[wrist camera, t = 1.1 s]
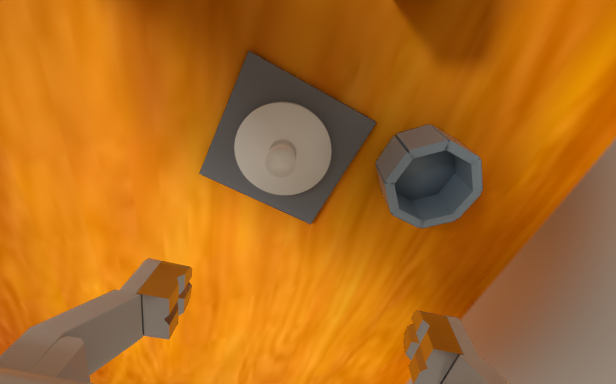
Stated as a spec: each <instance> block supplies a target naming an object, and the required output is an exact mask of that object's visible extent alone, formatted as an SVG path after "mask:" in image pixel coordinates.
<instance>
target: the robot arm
mask: <svg viewBox="0 0 616 384" xmlns="http://www.w3.org/2000/svg"><path fill="white" fill-rule="evenodd" d="M191 277H192V268H191V267H189V266H184V265H179V264H175V263H170V262H166V261H159V260H155V259H150V258H149V259H147V260H145V261H144V262H143V263H142V264H141V266H140V267H139V268H138V269H137V270H136V271H135V273H134V274H133V275H132V276H131V277H130V279H129V280H128V281H127V282H126V283H125V284H124V286H123V287H122V288H121V289H120V290H113V291H111V292H109V293H106V294H104V295H102V296H100V297H98V298H95V299H93V300H91V301H89V302H86V303H84V304H82V305H80V306H77V307H75V308H73V309H71V310H69V311H66V312H64V313H62V314H60V315H57V316H55V317H53V318H51V319H48V320H46V321H44V322H42V323H39V324H37V325H35V326H33V327H31V328H29V329H28V330H27V331H26V332H25V333H24V334H23V335H22V336H21V337H20V338H19V339H18V340H17V341H16V342H15V343H14V344H13V345H11V346H10V347H9V348H8V349H7V350H6V351H5V352H4V353H3V354H2V355H1V356H0V384H92V383H91V382H90V375H91V374H92V373H94V372H95V371H96V370H98V369H99V368H101V367H102V366H103V365H105V364H106V363H108V362H109V361H110V360H112V359H113V358H115V357H116V356H117V355H119V354H120V353H121V352H123V351H124V350H126V349H127V348H128V347H130V346H131V345H133V344H134V343H135V342H137V341H138V340H139V339H141V338H142V337H143V336H150V337H156V338H163V339H170V337H171V335H172V333H173V331H174V330H175V328H176V326H177V324H178V316H179V315H180V314H182V313H184V311H185V309H186V307H187V305H188V302H189V299H190V295H191V289H192V285H191V284H190V282H189V280H190V279H191ZM412 321H413V324H411V325H409V326H407V329H406V331H405V334H404V349H405V354H406V355H407V356H408V357H409V358H410V360H411V362H410V364H409V369H410V373H411V377H412V381H413V384H510V383H509V382H508V381H507V380H506V379H505V378H504V377H503V376H501V375H500V374H499V373H498V372H497V371H496V370H495V369H494V368H493V367H492V366H490V364H488V363H487V362H486V361H485V360H484V359H480V358H479V356H478V354H477V352H476V350H475V348H474V346H473V344H472V342H471V340H470V338H469V336H468V334H467V332H466V330H465V328H464V326H463V324H462V322H461V320H460V319H459V318H457V317H451V316H446V315H444V316H443V315H439V314H434V313H428V312H423V311H416V312H414V314H413V316H412Z"/></svg>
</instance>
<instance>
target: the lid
mask: <svg viewBox="0 0 616 384" xmlns="http://www.w3.org/2000/svg"><path fill="white" fill-rule="evenodd" d="M234 151H235V157H236V161H237V164H238V166H239V168H240V170H241V172H242V173H243V175H244V176H245V177H246V178H247V179H248V180H249V181H250V182H251V183H252V184H253V185H255V186H256V187H258V188H259V189H261V190H263V191H265V192H268V193H271V194H276V195H294V194H299V193H302V192H304V191H307V190H309V189H310V188H312V187H313V186H315V185H316V184H317V183H318V182H319V181H320V180H321V179H322V178H323V176H324V175H325V173H326V171H327V170H328V167H329V164H330V160H331V152H332V151H331V141H330V137H329V134H328V131H327V129H326V127H325V125H324V124H323V122H322V121H321V119H320V118H319V117H318V116H317V115H316V114H315V113H313V112H312V111H311V110H309V109H308V108H306V107H304V106H302V105H300V104H296V103H293V102H287V101H278V102H271V103H267V104H265V105H262V106H260V107H258V108H256V109H255V110H254V111H252V112H251V113H250V114H249V115H248V116H247V117H246V118H245V120H244V121H243V122H242V124H241V125H240V127H239V129H238V131H237V134H236V138H235V144H234Z"/></svg>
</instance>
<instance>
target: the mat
mask: <svg viewBox="0 0 616 384" xmlns="http://www.w3.org/2000/svg"><path fill="white" fill-rule="evenodd" d="M278 101H287V102H293V103H296V104H300V105H302V106H304V107H306V108H308V109H309V110H311V111H312V112H313V113H315V114H316V115H317V116H318V117H319V118H320V119H321V121H322V122H323V124H324V125H325V127H326V129H327V131H328V134H329V137H330V141H331V151H332V152H331V160H330V164H329V167H328V170H327V171H326V173H325V175H324V176H323V178H322V179H321V180H320V181H319V182H318V183H317V184H316V185H315V186H313V187H312V188H310V189H309V190H307V191H304V192H302V193H299V194H294V195H276V194H271V193H268V192H265V191H263V190H261V189H259V188H258V187H256V186H255V185H253V184H252V183H251V182H250V181H249V180H248V179H247V178H246V177H245V176H244V175H243V173H242V172H241V170H240V168H239V166H238V164H237V161H236V157H235V151H234V144H235V138H236V134H237V131H238V129H239V127H240V125H241V124H242V122H243V121H244V120H245V118H246V117H247V116H248V115H249V114H250V113H251V112H252V111H254V110H255V109H256V108H258V107H260V106H262V105H265V104H267V103H271V102H278ZM375 124H376V122H375V121H374V120H372V119H370V118H368V117H367V116H365V115H363V114H361V113H360V112H358V111H356V110H354V109H352V108H351V107H349V106H347V105H345V104H344V103H342V102H340V101H338V100H336V99H335V98H333V97H331V96H329V95H327V94H326V93H324V92H322V91H320V90H319V89H317V88H315V87H313V86H311V85H310V84H308V83H306V82H304V81H303V80H301V79H299V78H297V77H295V76H294V75H292V74H290V73H288V72H286V71H285V70H283V69H281V68H279V67H278V66H276V65H274V64H272V63H270V62H269V61H267V60H265V59H263V58H262V57H260V56H258V55H256V54H254V53H253V52H251V51H248V54H247V56H246V59H245V61H244V64H243V66H242V69H241V71H240V74H239V76H238V79H237V81H236V84H235V86H234V89H233V91H232V94H231V96H230V99H229V101H228V103H227V106H226V108H225V111H224V113H223V116H222V118H221V121H220V123H219V126H218V128H217V131H216V133H215V136H214V138H213V141H212V143H211V146H210V148H209V151H208V153H207V156H206V158H205V161H204V163H203V166H202V168H201V171H200V173H199V174H201V175H203V176H205V177H208V178H210V179H212V180H214V181H216V182H219V183H221V184H223V185H225V186H227V187H230V188H232V189H234V190H236V191H238V192H241V193H243V194H245V195H247V196H249V197H252V198H254V199H256V200H258V201H260V202H263V203H265V204H267V205H269V206H272V207H274V208H276V209H278V210H280V211H283V212H285V213H287V214H289V215H291V216H294V217H296V218H298V219H300V220H302V221H305V222H307V223H309V224H311V223H312V221H313V220H314V218H315V217H316V215H317V214H318V212H319V211H320V209H321V207H322V206H323V204H324V203H325V201H326V200H327V198H328V197H329V195H330V194H331V192H332V191H333V189H334V187H335V186H336V184H337V183H338V181H339V180H340V178H341V177H342V175H343V174H344V172H345V170H346V169H347V167H348V166H349V164H350V163H351V161H352V160H353V158H354V157H355V155H356V153H357V152H358V150H359V149H360V147H361V146H362V144H363V143H364V141H365V140H366V138H367V136H368V135H369V133H370V132H371V130H372V129H373V127H374V126H375Z"/></svg>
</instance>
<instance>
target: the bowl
mask: <svg viewBox="0 0 616 384" xmlns="http://www.w3.org/2000/svg"><path fill="white" fill-rule="evenodd" d="M396 136H397V137H396ZM396 136H395V135H394V136H393V137H392V139H391V140H390V142H389V143H388V145H387V146H386V147H385V149H384V150H383V152H382V153H381V155H380V156H379V158H378V159H377V161H376V163H377V164H375V165H376V170H377V174H378V179H379V183H380V188H381V191H382V194H383V196H384V199H385V201H386V203H387V206H388V208H389V210H390V213H391V214H392V215H393V216H395V217H397V218H399V219H401V220H403V221H405V222H407V223H409V224H412V225H414V226H416V227H418V228H420V227H421V228H426V227H431V226H435V225H439V224H444V223H448V222H452V221H456V220H455V218H456V219H459V218H460V217H461V216H462V214H463V213H464V212H465V211H466V210H467V209H468V208H469V207H470V206H471V205H472V203H473V202H474V201H475V200H476V199H477V198H478V197H479V196H480V195H481V194H482V193H481V191H483V186H482V164H481V159H480V157H479V156H478V155H476V154H475V153H474V152H472V151H471V150H470V149H469V148H467V147H466V146H465V145H463V144H462V143H461V142H460V141H458V140H457V139H455V138H454V137H452V136H450V135H448V134H447V133H445V132H443V131H442V130H440V129H438V128H436V127H435V126H433V125H431V126H430V125H425V126H422V127H418V128H414V129H411V130H407V131H404V132H400V133H397V134H396Z"/></svg>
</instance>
